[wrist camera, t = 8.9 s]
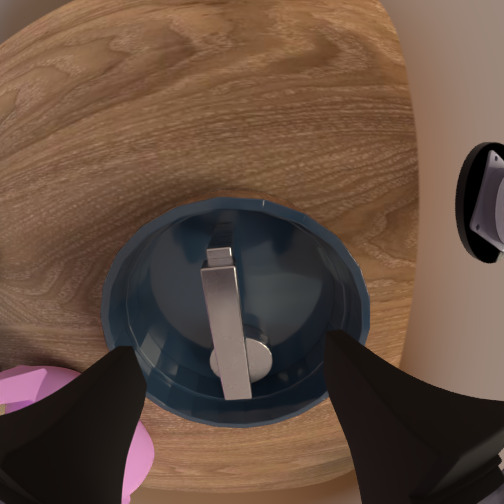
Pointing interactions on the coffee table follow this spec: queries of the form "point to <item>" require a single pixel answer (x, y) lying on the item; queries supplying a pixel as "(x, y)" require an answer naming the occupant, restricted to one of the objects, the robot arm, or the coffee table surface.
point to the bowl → (252, 300)
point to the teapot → (52, 379)
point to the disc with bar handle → (231, 321)
